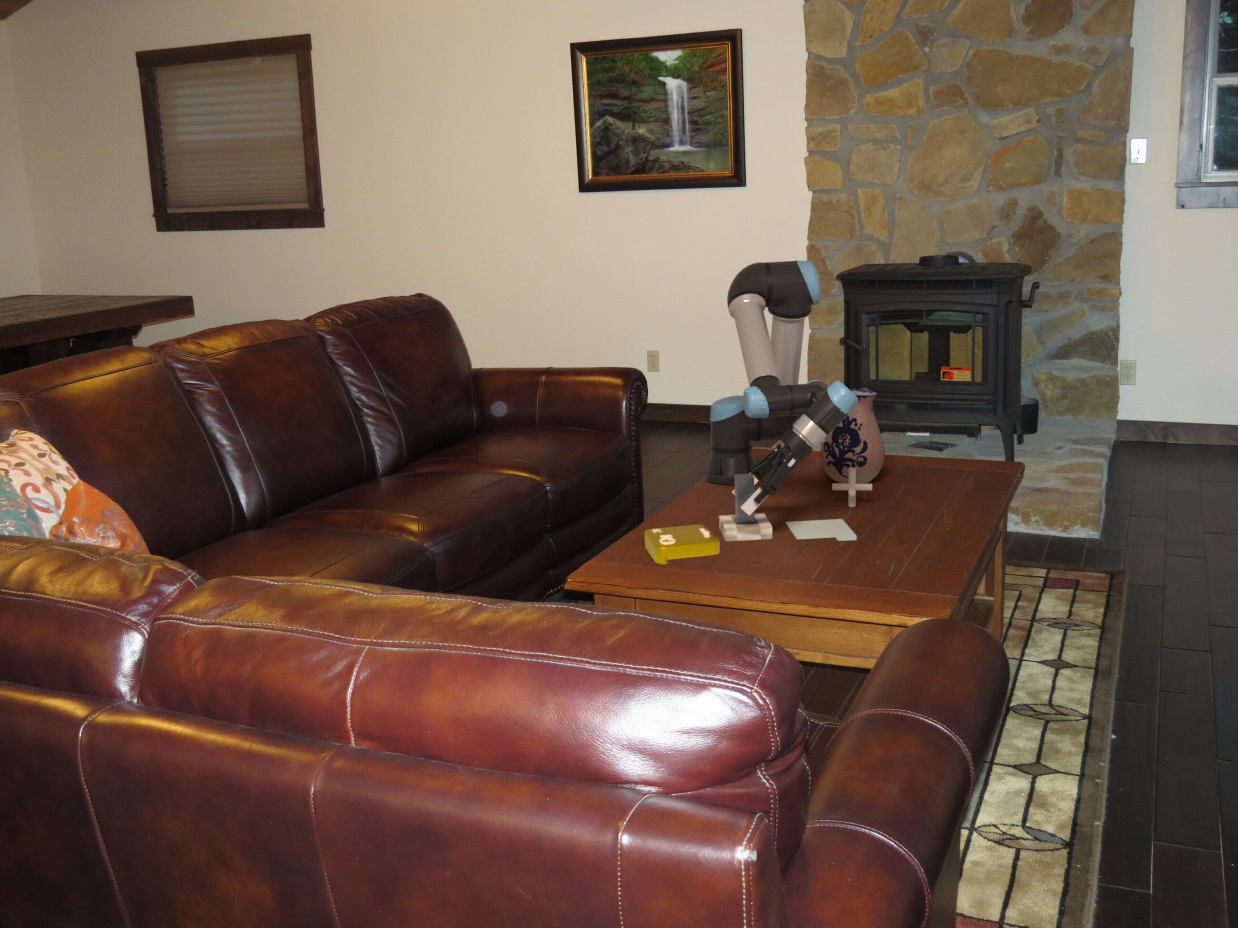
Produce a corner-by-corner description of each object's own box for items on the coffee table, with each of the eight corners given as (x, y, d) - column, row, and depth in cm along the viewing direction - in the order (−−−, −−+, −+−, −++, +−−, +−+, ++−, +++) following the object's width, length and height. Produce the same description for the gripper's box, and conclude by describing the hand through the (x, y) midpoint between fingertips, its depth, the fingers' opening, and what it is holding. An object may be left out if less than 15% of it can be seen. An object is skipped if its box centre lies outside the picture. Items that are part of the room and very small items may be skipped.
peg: (735, 530, 270) (734, 474, 267) (752, 529, 270) (751, 473, 267) (738, 535, 266) (737, 478, 263) (754, 534, 266) (754, 477, 263)
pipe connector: (872, 511, 284) (872, 473, 282) (831, 511, 286) (832, 473, 284) (871, 500, 294) (872, 463, 291) (832, 500, 296) (832, 463, 293)
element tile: (722, 559, 254) (721, 539, 253) (657, 566, 251) (656, 546, 250) (704, 540, 268) (704, 521, 267) (643, 546, 266) (642, 527, 265)
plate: (785, 525, 276) (785, 521, 275) (842, 522, 276) (842, 518, 276) (796, 543, 262) (796, 539, 262) (856, 539, 262) (856, 535, 262)
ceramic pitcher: (814, 487, 309) (814, 397, 303) (830, 468, 328) (830, 384, 322) (878, 491, 303) (879, 399, 297) (891, 472, 321) (893, 385, 315)
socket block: (719, 531, 273) (718, 515, 273) (764, 528, 274) (764, 513, 273) (725, 545, 263) (725, 528, 262) (772, 542, 263) (772, 526, 262)
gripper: (826, 460, 252) (760, 528, 255) (802, 437, 276) (743, 499, 279) (802, 438, 250) (737, 507, 253) (781, 417, 274) (721, 480, 277)
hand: (740, 503), depth 266 cm, fingers open, 13 cm apart
